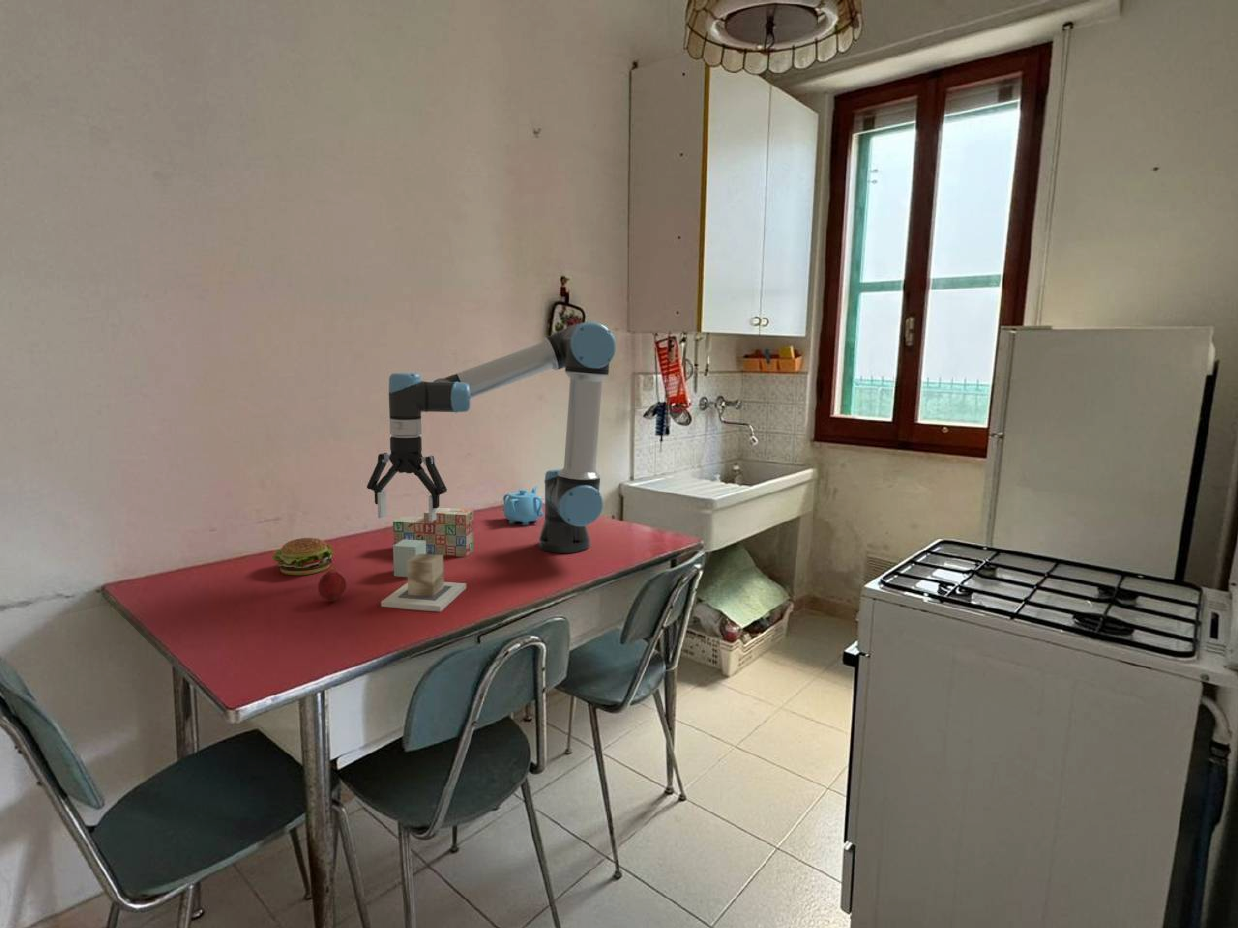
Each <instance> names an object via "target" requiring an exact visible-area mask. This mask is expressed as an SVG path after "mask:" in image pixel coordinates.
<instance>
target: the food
mask: <svg viewBox="0 0 1238 928" xmlns="http://www.w3.org/2000/svg"><path fill="white" fill-rule="evenodd" d="M333 554H334V550H333V549H332V548H331V547H330V546H329V545H328V544H327V543H326V542H325V540H322V539H320V538H317V537H316V538H314V537H301V538H297V539H296V538H295V539H292V540H290V541H288V542H286V543H285V544H283V545H282V547H281V548H280V549H276V550H275V553H274V554H271V559H273V561H275V562H277V564H276V565H277V566H278V567H279V570H280V572H281V573H282V574H285V575H289V576H306V575H314V574H317V573H320V572H324V571H326V570H327V569H329V567H330V566H331V565H330V564H331V563H332V561H333V559H332V556H333Z"/></svg>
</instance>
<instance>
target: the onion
mask: <svg viewBox="0 0 1238 928" xmlns="http://www.w3.org/2000/svg"><path fill="white" fill-rule="evenodd" d="M317 589H318V593H319V594H320V596H321V597H322V598H323V599H324V600H326V601H329V602H331V603H335V602H337V601H338V599H340V598H341V597H342V596H343V595H344V593H345V592H346V590H347V581H346V579H345V578H344V576H343V575H342V574H340V573H339V572H337V571H336V568H335V567H331V568H330V569H328V571H327V572H326V573H325V574H324V575H323V576H322V577H321V578H320V579H319V581H318V586H317Z"/></svg>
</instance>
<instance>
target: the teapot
mask: <svg viewBox="0 0 1238 928" xmlns="http://www.w3.org/2000/svg"><path fill="white" fill-rule="evenodd" d="M537 488H538V486H533V488H532V490H531V492H529V491H528V490H527V489H525V488H524V489H523V488H521V489H519V490H518V491H517V492H516V491H515V492H512V493H506V494H504V495H503V499H502V500H503V504H504V506H503V508H502V511H503V516H504V517H505V519H506V520H509V521H508V524H515V523H516V522H522V526H529V525H530V522H533V523H534V522H537V520H538V519H539V518H540V517H543V516H544V512H543V509H542V508H543V503H544V501H543V499H542V497H540V496H538V495H537Z"/></svg>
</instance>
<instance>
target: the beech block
mask: <svg viewBox="0 0 1238 928" xmlns="http://www.w3.org/2000/svg"><path fill="white" fill-rule="evenodd" d="M407 572H408V577H407V582H408V595H417V596H430V597H433V596H435V595H436V594H437V593H438V592H439V591H440V590H442V589H443V588H444V582H445V580H444V555H433V554H417V555H416V556H414V557H413V558H411V559H410V560H408V561H407Z"/></svg>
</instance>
